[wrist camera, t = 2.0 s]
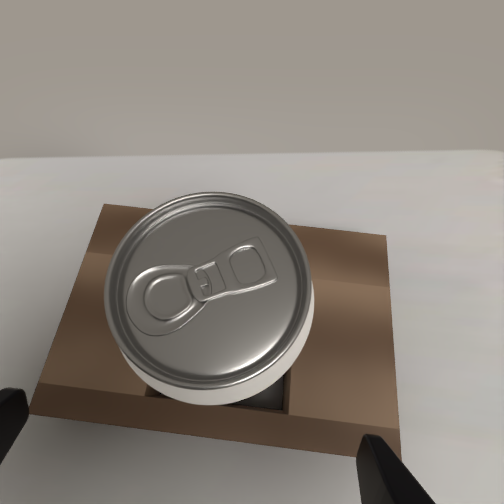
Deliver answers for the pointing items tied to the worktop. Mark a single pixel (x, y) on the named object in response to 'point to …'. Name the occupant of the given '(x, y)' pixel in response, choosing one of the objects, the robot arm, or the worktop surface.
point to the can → (210, 298)
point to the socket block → (295, 378)
